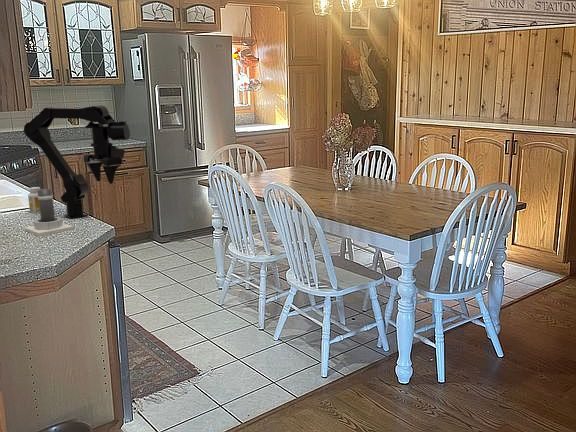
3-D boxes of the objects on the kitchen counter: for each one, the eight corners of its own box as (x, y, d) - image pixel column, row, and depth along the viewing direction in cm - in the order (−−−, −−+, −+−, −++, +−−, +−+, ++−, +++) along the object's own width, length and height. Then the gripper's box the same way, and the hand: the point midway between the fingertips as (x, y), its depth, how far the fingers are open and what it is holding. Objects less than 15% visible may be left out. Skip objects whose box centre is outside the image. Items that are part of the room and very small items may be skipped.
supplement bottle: (46, 210, 235) (44, 186, 233) (41, 213, 230) (38, 188, 228) (33, 210, 235) (30, 186, 233) (27, 213, 230) (24, 189, 228)
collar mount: (24, 230, 203) (23, 220, 202) (58, 224, 211) (57, 214, 211) (39, 236, 195) (37, 225, 194) (73, 229, 203) (72, 219, 202)
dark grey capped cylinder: (39, 227, 203) (34, 190, 200) (52, 224, 206) (48, 188, 203) (45, 229, 200) (40, 191, 197) (58, 226, 203) (54, 189, 200)
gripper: (133, 139, 214) (137, 182, 218) (108, 137, 227) (111, 177, 231) (105, 142, 207) (109, 186, 210) (80, 139, 220) (85, 181, 223)
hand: (104, 182), depth 219 cm, fingers open, 9 cm apart
